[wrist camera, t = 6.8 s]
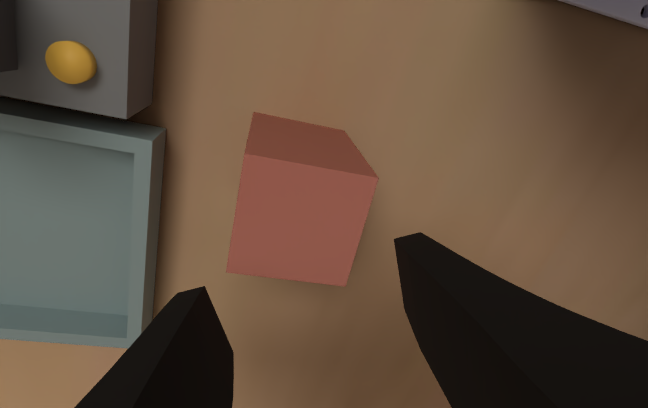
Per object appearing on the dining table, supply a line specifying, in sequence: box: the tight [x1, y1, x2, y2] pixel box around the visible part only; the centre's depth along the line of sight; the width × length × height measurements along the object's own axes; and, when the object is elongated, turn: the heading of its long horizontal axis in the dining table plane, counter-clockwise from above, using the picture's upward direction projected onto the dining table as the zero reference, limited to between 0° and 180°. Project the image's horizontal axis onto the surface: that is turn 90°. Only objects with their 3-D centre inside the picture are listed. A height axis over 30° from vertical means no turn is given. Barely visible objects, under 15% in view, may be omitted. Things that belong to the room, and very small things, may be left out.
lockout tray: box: [0, 97, 166, 348], centre depth 16 cm, size 10×10×2 cm
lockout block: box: [226, 112, 379, 286], centre depth 14 cm, size 4×4×6 cm
